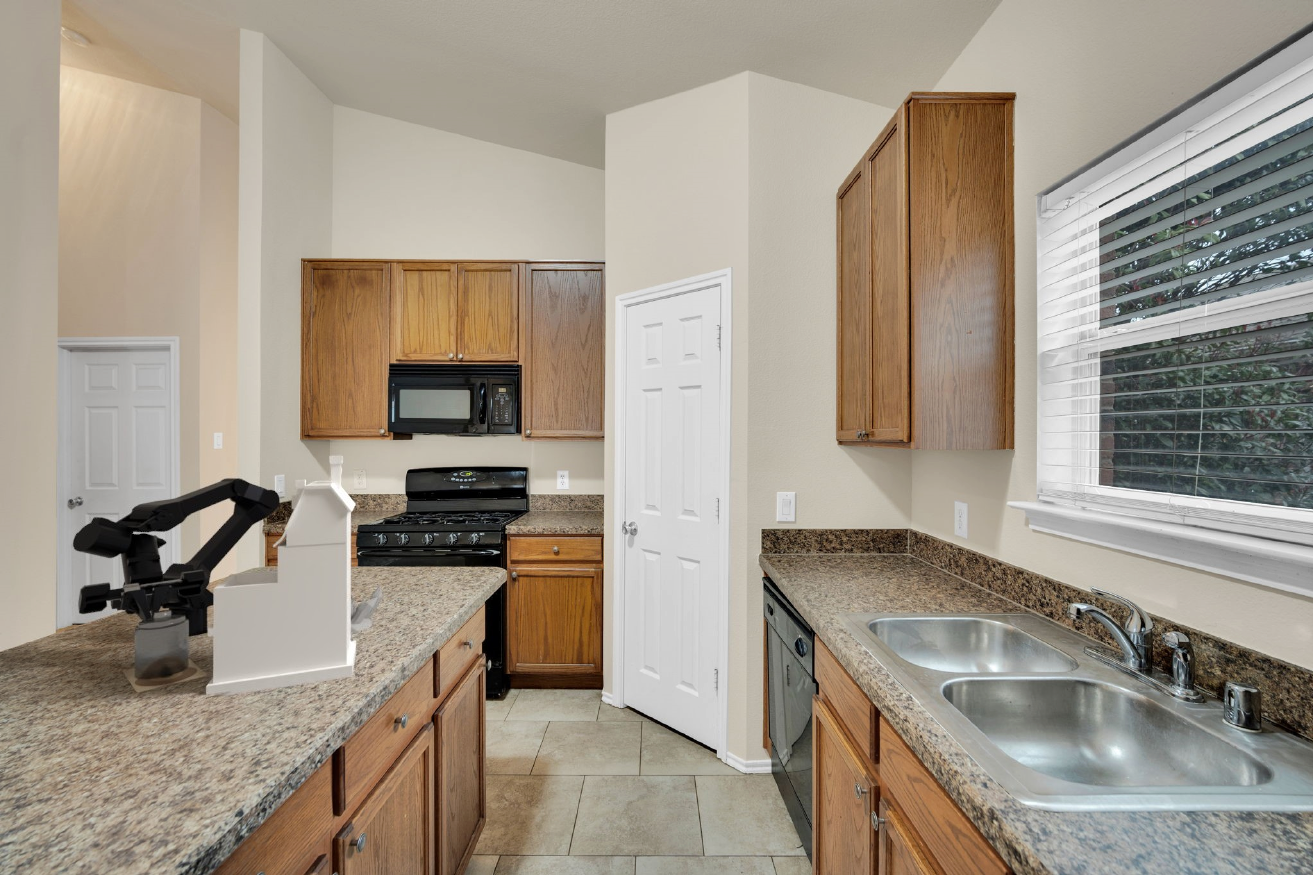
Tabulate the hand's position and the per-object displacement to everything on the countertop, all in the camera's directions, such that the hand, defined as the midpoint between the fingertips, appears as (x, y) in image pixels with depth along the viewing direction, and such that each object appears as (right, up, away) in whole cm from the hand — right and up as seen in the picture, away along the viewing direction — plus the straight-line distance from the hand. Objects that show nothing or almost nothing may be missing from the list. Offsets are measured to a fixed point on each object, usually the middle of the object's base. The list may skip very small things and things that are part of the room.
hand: (152, 627), depth 112 cm
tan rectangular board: (+6, -7, -5) cm, 11 cm away
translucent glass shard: (+25, -8, +24) cm, 36 cm away
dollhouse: (+28, -8, -2) cm, 29 cm away
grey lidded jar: (+5, -7, -4) cm, 9 cm away
